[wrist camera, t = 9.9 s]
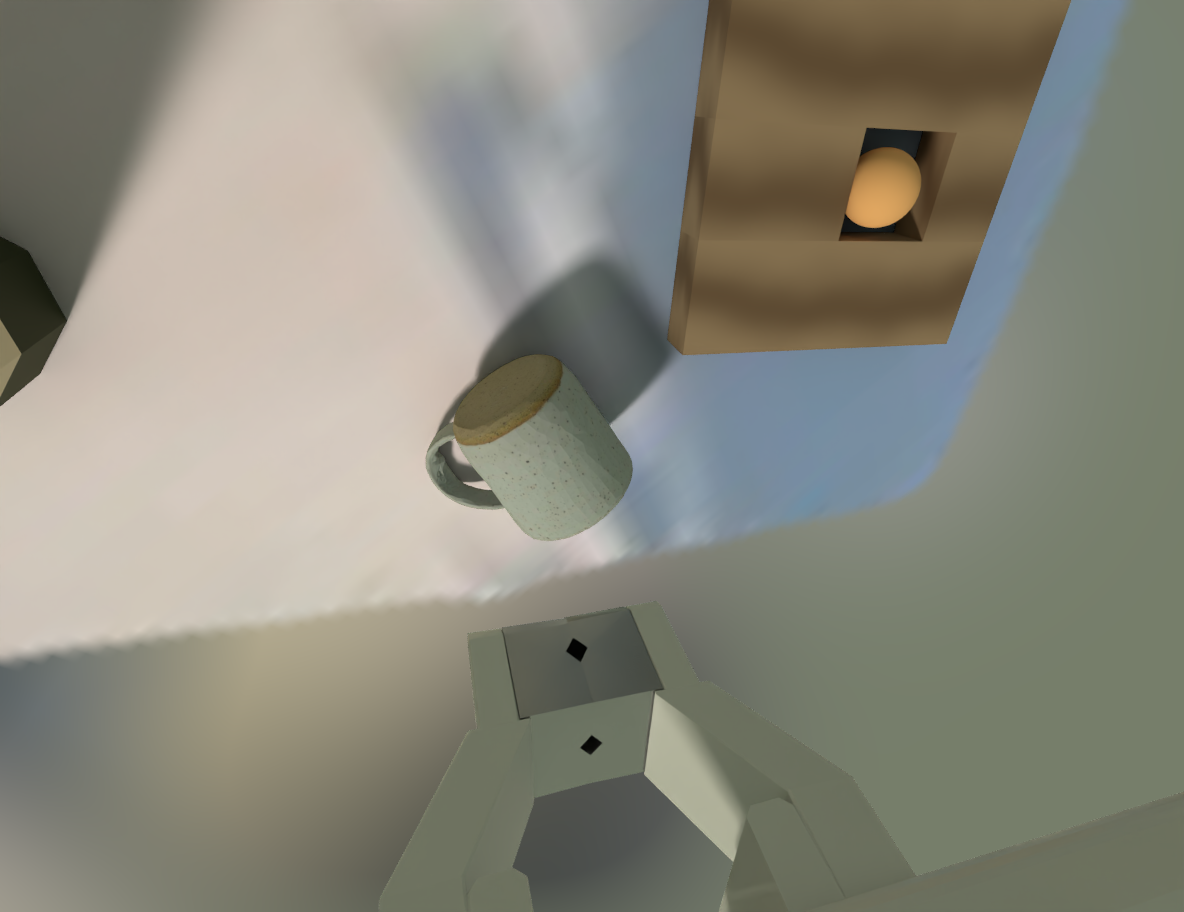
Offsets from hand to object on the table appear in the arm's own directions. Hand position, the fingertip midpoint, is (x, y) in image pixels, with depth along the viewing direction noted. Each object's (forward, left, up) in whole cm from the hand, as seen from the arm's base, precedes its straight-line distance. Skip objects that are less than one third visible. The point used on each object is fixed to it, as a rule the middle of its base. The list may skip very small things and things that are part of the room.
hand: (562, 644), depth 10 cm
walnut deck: (-4, +21, -26) cm, 34 cm away
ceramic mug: (+11, +3, -27) cm, 29 cm away
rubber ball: (-4, +23, -25) cm, 34 cm away
